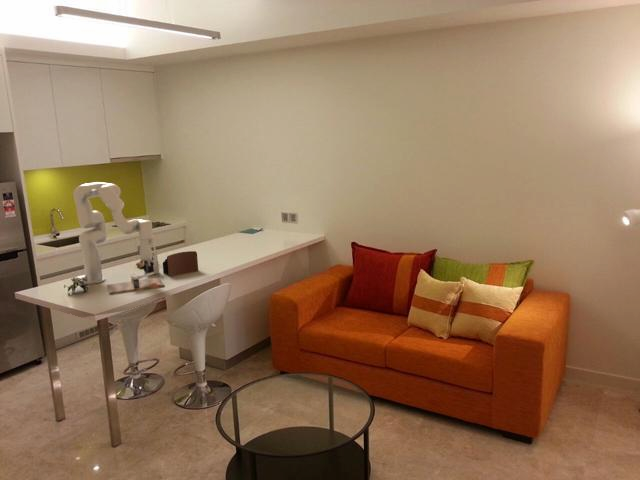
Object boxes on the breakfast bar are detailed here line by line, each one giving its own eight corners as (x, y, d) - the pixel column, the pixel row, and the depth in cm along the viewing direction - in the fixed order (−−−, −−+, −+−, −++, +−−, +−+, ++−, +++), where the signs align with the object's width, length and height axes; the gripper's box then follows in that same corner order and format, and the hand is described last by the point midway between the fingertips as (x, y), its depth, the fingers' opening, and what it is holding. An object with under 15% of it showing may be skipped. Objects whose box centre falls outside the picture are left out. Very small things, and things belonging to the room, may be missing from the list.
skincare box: (157, 271, 351) (155, 249, 348) (159, 273, 346) (157, 250, 342) (144, 273, 347) (141, 250, 344) (146, 275, 342) (143, 252, 339)
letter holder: (198, 271, 349) (197, 250, 346) (168, 276, 338) (166, 254, 335) (192, 268, 357) (190, 247, 354) (163, 273, 346) (161, 252, 343)
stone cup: (150, 262, 377) (148, 241, 374) (161, 264, 370) (159, 242, 367) (131, 266, 365) (129, 245, 362) (141, 269, 358) (139, 247, 355)
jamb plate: (109, 294, 303) (108, 284, 302) (107, 286, 319) (106, 277, 318) (164, 286, 316) (163, 277, 315) (159, 279, 332) (158, 270, 331)
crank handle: (135, 280, 308) (134, 267, 307) (130, 279, 310) (128, 266, 309) (154, 274, 320) (153, 261, 319) (149, 273, 322) (148, 260, 321)
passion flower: (86, 300, 312) (94, 285, 308) (68, 302, 303) (76, 286, 299) (76, 287, 317) (85, 272, 313) (59, 288, 307) (67, 273, 303)
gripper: (161, 241, 314) (163, 272, 318) (142, 238, 323) (145, 268, 327) (150, 244, 308) (153, 275, 312) (132, 241, 317) (134, 271, 321)
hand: (149, 271), depth 319 cm, fingers open, 3 cm apart
